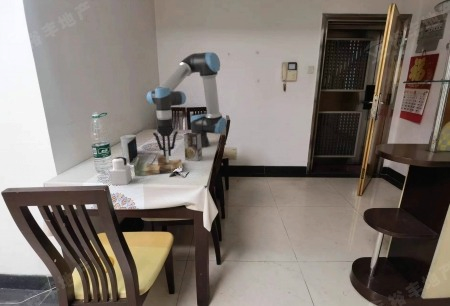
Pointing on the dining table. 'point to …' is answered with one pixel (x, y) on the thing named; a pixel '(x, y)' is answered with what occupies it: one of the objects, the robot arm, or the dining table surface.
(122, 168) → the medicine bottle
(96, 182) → the dining table surface
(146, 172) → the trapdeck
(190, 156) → the coffee box
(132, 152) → the laptop
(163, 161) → the block
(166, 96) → the robot arm
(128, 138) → the grey mottled cylinder
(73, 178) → the dining table surface
